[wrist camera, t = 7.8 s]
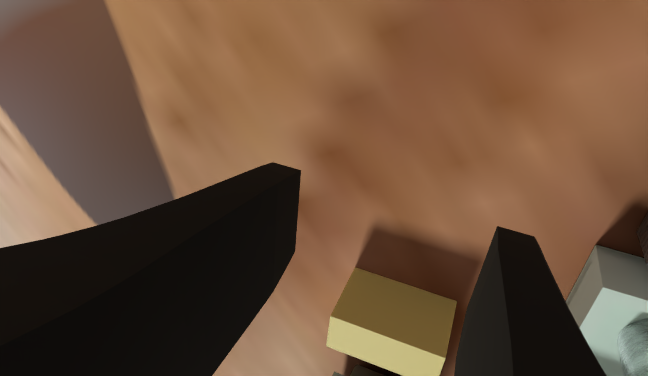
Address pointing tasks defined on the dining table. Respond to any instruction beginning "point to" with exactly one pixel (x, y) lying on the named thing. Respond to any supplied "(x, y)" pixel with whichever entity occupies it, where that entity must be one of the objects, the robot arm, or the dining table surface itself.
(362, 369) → the castor
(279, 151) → the dining table surface
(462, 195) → the dining table surface
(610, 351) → the tray
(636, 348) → the pin
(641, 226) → the pin socket
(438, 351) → the block
